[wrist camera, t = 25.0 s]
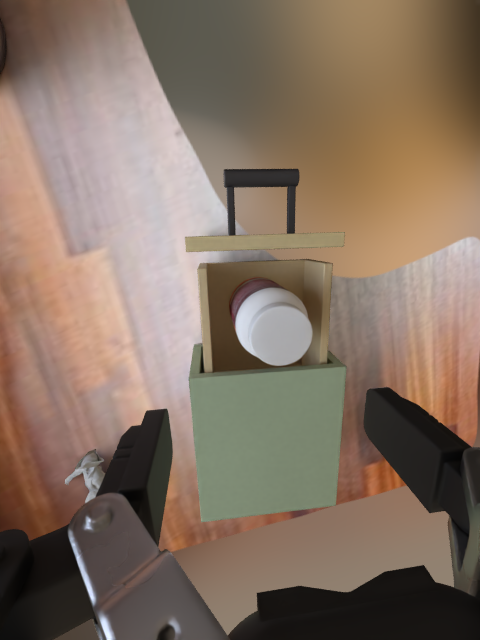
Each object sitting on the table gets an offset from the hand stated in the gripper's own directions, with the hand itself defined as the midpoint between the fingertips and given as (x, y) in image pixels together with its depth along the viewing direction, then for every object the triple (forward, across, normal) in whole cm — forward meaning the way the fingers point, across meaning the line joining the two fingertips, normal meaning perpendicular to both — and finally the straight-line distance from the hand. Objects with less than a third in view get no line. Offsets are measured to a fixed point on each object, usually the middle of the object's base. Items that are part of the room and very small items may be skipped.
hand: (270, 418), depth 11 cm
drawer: (+22, -3, -2) cm, 22 cm away
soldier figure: (+22, +18, +23) cm, 37 cm away
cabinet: (+22, -3, +14) cm, 26 cm away
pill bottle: (+20, -3, 0) cm, 21 cm away
